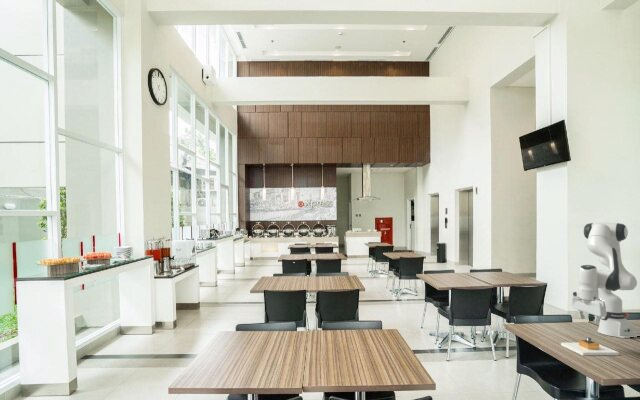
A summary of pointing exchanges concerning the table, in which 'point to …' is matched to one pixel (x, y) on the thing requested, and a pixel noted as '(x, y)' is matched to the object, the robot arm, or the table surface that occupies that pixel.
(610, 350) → the plate
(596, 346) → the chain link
